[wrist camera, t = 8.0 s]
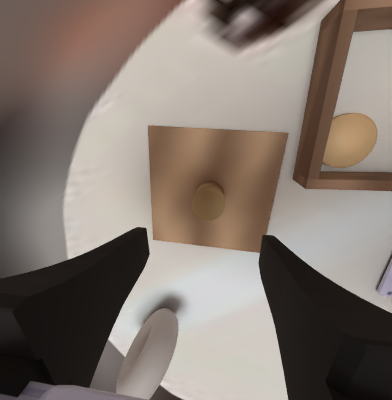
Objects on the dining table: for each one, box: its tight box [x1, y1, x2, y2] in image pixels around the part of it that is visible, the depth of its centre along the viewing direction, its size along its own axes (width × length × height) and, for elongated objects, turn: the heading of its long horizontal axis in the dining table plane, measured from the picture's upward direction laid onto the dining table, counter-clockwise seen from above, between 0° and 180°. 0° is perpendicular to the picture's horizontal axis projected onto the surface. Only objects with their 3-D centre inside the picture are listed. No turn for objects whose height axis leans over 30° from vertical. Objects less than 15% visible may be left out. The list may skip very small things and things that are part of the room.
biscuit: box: [322, 113, 377, 168], centre depth 16 cm, size 4×4×1 cm
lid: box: [148, 126, 288, 253], centre depth 18 cm, size 13×13×4 cm
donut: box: [116, 308, 178, 400], centre depth 23 cm, size 10×4×10 cm, turn 145°
